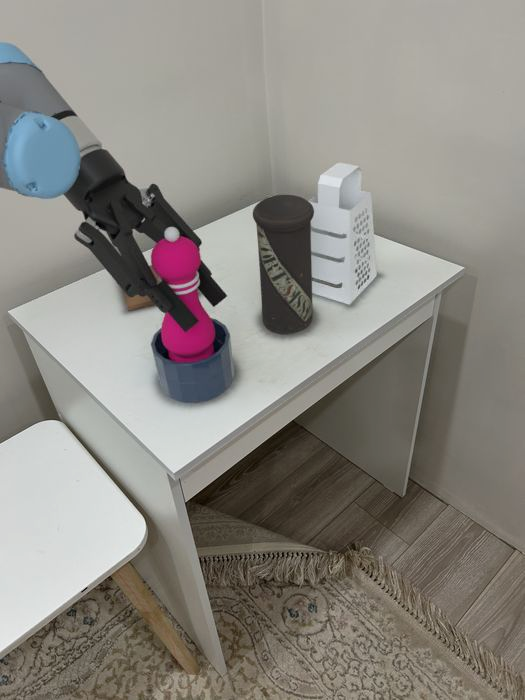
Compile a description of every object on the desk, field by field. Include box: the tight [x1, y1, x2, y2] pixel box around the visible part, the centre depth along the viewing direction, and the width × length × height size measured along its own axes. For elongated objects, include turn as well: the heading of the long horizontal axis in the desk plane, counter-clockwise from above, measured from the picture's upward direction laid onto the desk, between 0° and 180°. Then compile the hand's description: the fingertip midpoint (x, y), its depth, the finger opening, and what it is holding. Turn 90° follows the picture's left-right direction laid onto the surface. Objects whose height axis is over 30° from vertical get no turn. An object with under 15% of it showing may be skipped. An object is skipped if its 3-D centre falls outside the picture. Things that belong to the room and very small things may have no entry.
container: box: [252, 194, 314, 335], centre depth 82 cm, size 9×9×20 cm
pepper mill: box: [150, 227, 215, 362], centre depth 70 cm, size 7×7×20 cm
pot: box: [150, 317, 235, 404], centre depth 76 cm, size 11×11×7 cm
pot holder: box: [121, 264, 160, 312], centre depth 98 cm, size 12×12×1 cm
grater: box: [307, 162, 378, 305], centre depth 90 cm, size 10×10×20 cm
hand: (206, 313), depth 69 cm, fingers closed on pepper mill, 5 cm apart
